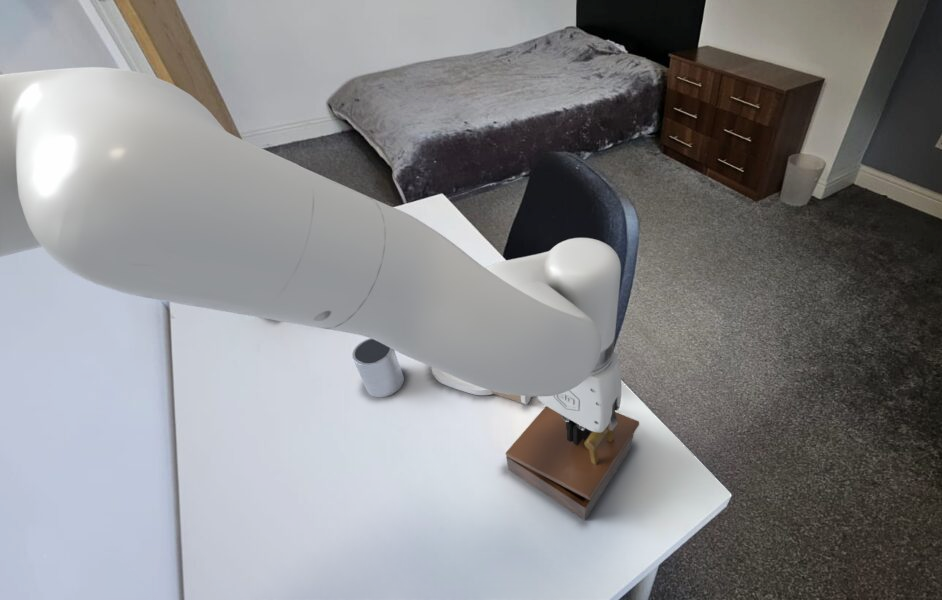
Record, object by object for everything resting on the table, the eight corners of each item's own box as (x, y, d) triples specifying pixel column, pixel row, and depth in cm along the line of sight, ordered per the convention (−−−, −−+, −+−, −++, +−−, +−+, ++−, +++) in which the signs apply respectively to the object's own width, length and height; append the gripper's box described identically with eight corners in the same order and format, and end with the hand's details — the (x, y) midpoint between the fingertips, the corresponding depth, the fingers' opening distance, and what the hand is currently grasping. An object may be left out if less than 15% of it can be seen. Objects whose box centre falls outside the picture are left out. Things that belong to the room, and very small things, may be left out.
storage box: (631, 447, 71) (633, 433, 69) (584, 520, 63) (585, 508, 60) (560, 407, 76) (560, 393, 74) (508, 469, 68) (506, 456, 66)
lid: (639, 424, 67) (636, 398, 64) (589, 500, 58) (583, 474, 55) (560, 393, 74) (554, 368, 71) (506, 456, 65) (496, 431, 62)
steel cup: (382, 403, 76) (368, 370, 71) (358, 386, 79) (343, 354, 73) (411, 379, 80) (400, 346, 75) (387, 364, 82) (375, 331, 77)
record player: (521, 400, 73) (414, 364, 79) (522, 412, 75) (418, 377, 81) (551, 349, 82) (453, 320, 87) (552, 361, 84) (455, 332, 89)
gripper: (507, 336, 53) (518, 429, 65) (622, 395, 47) (611, 485, 59) (546, 300, 58) (550, 392, 70) (655, 349, 52) (639, 441, 64)
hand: (578, 435), depth 65 cm, fingers closed
